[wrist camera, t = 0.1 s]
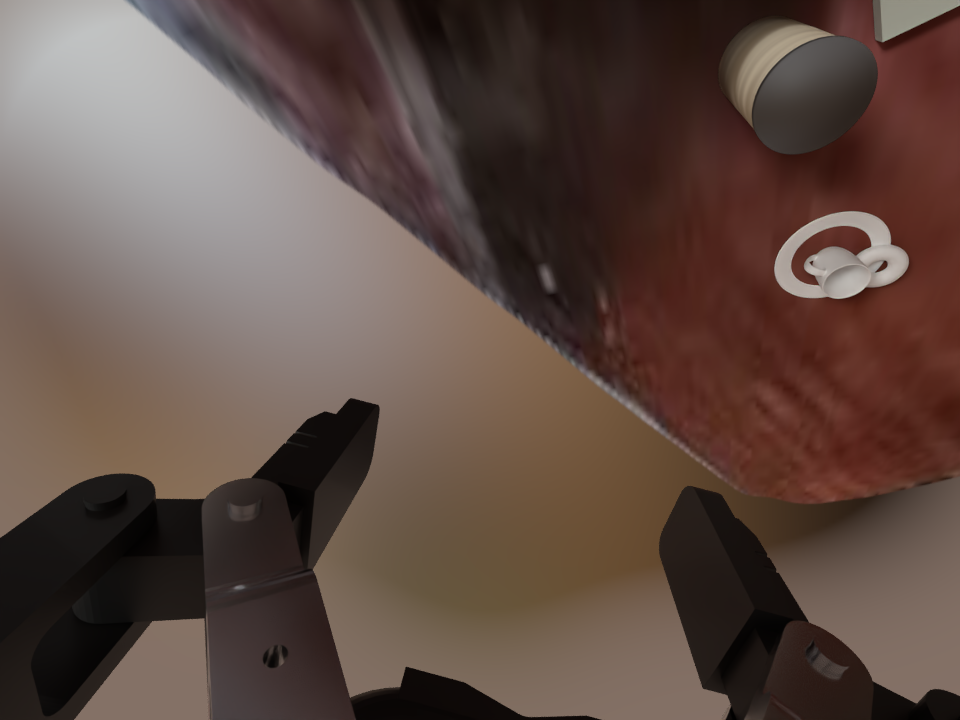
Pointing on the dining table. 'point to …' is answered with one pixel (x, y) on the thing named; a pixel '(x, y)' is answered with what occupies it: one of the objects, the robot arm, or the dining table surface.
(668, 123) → the dining table surface
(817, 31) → the beige cylinder
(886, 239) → the teacup and saucer
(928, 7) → the collar plate
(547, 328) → the dining table surface
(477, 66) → the dining table surface
